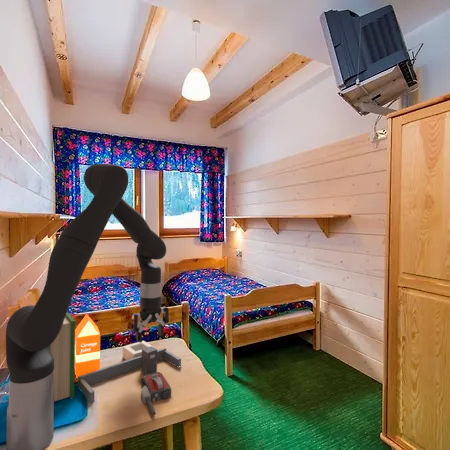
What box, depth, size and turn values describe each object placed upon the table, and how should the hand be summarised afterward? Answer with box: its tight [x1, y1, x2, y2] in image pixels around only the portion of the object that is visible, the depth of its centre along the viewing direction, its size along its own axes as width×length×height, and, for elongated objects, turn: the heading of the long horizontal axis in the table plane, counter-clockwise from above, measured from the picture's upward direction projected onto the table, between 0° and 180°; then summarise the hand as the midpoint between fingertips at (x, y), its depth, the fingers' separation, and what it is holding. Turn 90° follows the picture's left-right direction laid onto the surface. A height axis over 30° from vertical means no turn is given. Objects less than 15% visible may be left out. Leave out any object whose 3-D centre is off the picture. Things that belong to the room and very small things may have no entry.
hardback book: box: [49, 311, 76, 402], centre depth 95 cm, size 18×7×24 cm, turn 39°
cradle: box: [77, 347, 182, 404], centre depth 105 cm, size 33×11×4 cm, turn 134°
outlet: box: [122, 340, 156, 361], centre depth 118 cm, size 9×9×4 cm
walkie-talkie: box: [140, 371, 172, 416], centre depth 94 cm, size 9×4×20 cm
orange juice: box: [74, 313, 101, 379], centre depth 106 cm, size 8×9×20 cm
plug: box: [140, 345, 158, 375], centre depth 108 cm, size 4×4×8 cm
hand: (150, 338), depth 108 cm, fingers open, 8 cm apart
